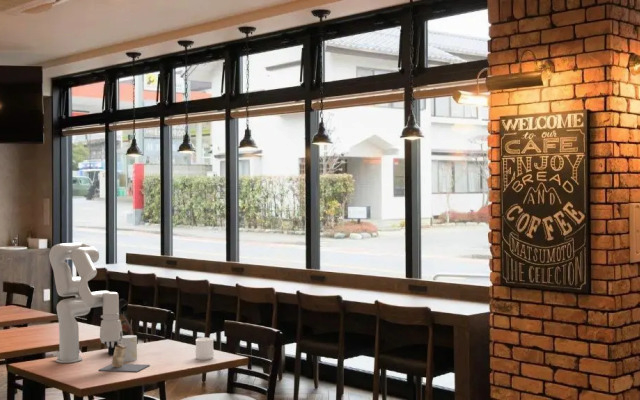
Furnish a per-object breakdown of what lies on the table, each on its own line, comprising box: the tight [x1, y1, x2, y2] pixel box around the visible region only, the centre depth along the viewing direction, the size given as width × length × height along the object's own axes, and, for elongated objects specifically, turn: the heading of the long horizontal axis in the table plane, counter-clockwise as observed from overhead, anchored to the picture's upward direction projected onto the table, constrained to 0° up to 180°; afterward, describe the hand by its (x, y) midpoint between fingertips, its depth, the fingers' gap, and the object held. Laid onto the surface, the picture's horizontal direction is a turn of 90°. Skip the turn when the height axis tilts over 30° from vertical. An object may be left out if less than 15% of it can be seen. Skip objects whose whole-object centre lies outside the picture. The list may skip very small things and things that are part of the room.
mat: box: [98, 363, 151, 373], centre depth 381 cm, size 20×14×1 cm
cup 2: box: [195, 337, 215, 361], centre depth 403 cm, size 10×10×10 cm
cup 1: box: [120, 334, 138, 363], centre depth 401 cm, size 8×8×12 cm
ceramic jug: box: [104, 298, 134, 347], centre depth 423 cm, size 17×15×30 cm
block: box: [111, 344, 127, 368], centre depth 382 cm, size 4×4×10 cm
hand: (111, 355), depth 383 cm, fingers closed
